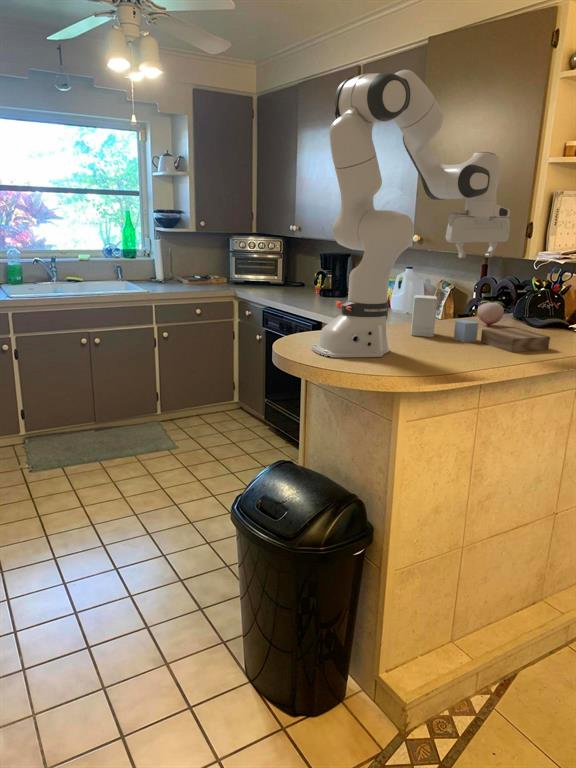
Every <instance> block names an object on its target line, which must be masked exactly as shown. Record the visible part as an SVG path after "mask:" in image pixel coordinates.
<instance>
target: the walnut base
mask: <svg viewBox="0 0 576 768" xmlns="http://www.w3.org/2000/svg"><path fill="white" fill-rule="evenodd" d="M550 341H551V336H549V335H544V334H542V333H538V332H534V331H532V330H531V331H530V330H526V329H523V328H520V327H511V328H508V327H507V328H487V329H482V330H481V335H480V343H482V344H486V345H489V346H491V347H494V348H497V349H499V350H500V349H501V350H502V351H503V350H504V351H506V352H509V353H517V352H518V353H519V352H520V353H521V352H534V351H548V350H549V347H550V346H549V345H550Z"/></svg>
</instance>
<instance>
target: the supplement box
mask: <svg viewBox="0 0 576 768" xmlns="http://www.w3.org/2000/svg"><path fill="white" fill-rule="evenodd" d="M412 304H413V305H412V314H411V327H410V335H411V336H414V337H427V338H428V337H429V338H433V337H434V334H435V333H434V332H435V326H436V325H435V324H436V315H437V314H436V313H437V307H438V306H437V305H438V297H437V296H436V295H423V294H421V295H419V294H415V295H414V296H413V303H412Z"/></svg>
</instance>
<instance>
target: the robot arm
mask: <svg viewBox="0 0 576 768" xmlns="http://www.w3.org/2000/svg"><path fill="white" fill-rule="evenodd" d="M334 108H335V110H334V117H335V118H336V119H335V120H334V121H333V122H332V123H331V125H330V127H329V132H328V133H329V144H330V154H331V159H332V162H333V167H334V171H335V175H336V178H337V182H338V187H339V192H340V203H341V204H340V211H339V214H338V215H337V217H336V218H335V220H334V222H333V226H332V233H333V238H334V240H335V242H336V243H337V244H338V245H340V246H343V248H347V249H349V250H354V251H364V252H363V256H362V259H361V261H360V263H359V264H358V265H356V267H354V268H353V269H352V270H351V272H350V273H349V276H348V277H349V279H348V295H347V300H346V301H345V302H344V301H343V302H342V301H339V300H337V301H336V302H335V303H334V304H335V307H336V309H339V310H341V313H340V314H338V316H336V317H335V318H334V319H332V320H331V321H330V322H328V323H327V324H325V326H323V327H322V329H321V332H320V334H319V340H318V342H317V343H316V342H315V343H312V344H311V347H310V348H311V350H312V351H313V352H315V354H316V353H317V354H319V355H320V354H321V356H323V355H324V356H323V357H327V356H330V357H329V358H381V357H383V356H384V355H385V354H387V353H389V351H390V350H389V345H388V337H387V320H388V314H389V302H388V294H389V285H390V278H391V277H390V276H391V272H392V270H393V268H394V265H395V262H396V261H397V259H398V258H399V256H400V255H401V254H402V253H403V252H404V251H405V250H406V249H408V248H409V247H410V245H411V243H413V240H414V238H415V237H414V236H415V226H414V222H413V220H412V219H411V217H410V216H409V215H407V214H405V213H402V212H400V211H399V212H398V211H395V210H387V209H386V210H383V209H382V210H381V209H380V210H378V209H375V206H374V198H375V195H376V194H377V193H378V192H379V191H380V189H382V188H381V187H382V185H383V179H382V178H383V177H382V174H381V170H380V165H379V161H378V156H377V151H376V147H375V144H374V140H373V127H374V124H375V123H380V122H388V121H389V122H390V121H392V120H393V121H395V124H396V126H398V128H399V129H400V131H401V132H402V142H403V143H402V144H403V145H404V148H405V150H406V152H407V155H408V156H409V159H410V160H411V161H412V165H413V166H414V168H415V169H416V172H418V174H419V177H420V180H421V183H422V187H423V189H424V192H425V194H426V196H427V197H428V198H429V199H431V200H433V201H441V200H465V205H464V210H454V211H453V212H451V213H450V214H449V216H448V221H447V227H446V231H445V232H446V233H445V240H446V242H447V243H450V244H451V243H453V244H454V243H455V248H456V249H457V252H458V255H457V257H458V258H459V259H465V258H466V257H467V256H466V254H467V251H464V248H463V247H464V245H465V243H488V245H489V247H488V249H487V250H485V251H484V253H485V254H484V258H492V257H493V254H494V253H493V252H494V251H495V249H496V248H497V246H498V243H502V242H503V243H505V242H507V241H508V239H509V237H510V233H511V231H510V229H511V222H510V221H511V220H510V219H509V218H508V217H510V216H511V210H510V209H509V208H507V207H504V206H502V205H499V204H497V202H498V198H497V197H498V196H497V189H498V187H499V184H500V183H499V182H500V173H501V172H500V171H501V170H500V169H501V168H500V167H501V165H500V159H499V158H500V157H499V156H498V155H497V154H496V153H494V152H488V151H477V152H474V153H473V154H472V156H471V157H470V158H469V159H468V160H466V161H463V162H462V163H455V164H445V163H442V162H439V161H438V160H437V158H436V157H435V155H434V153H433V151H432V149H431V146H430V145H429V143H431V142H432V141H433V140H434V139H435V137H436V136H437V135H438V134H439V132H440V130H441V129H442V126H443V122H444V115H443V110H442V108H441V106H440V104H439V103H438V101H437V99H436V98H435V97H434V95H433V94H432V92H431V90H430V89H429V87H428V86H427V85H426V84H425V83H424V82H423V80H421V78H420V77H419V76H417V74H416V73H415V72H414V71H412V70H410V69H401V70H399V71H397V72H395V73H392V72H386V71H384V72H381V73H372V72H369V73H368V72H367V73H364V74H359V75H357V76H356V75H355V76H350V77H349V78H347V79H345V80H344V81H343V82H341V83H340V84H339V85H338V87H337V88H336V92H335V96H334Z"/></svg>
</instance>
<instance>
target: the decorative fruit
mask: <svg viewBox="0 0 576 768" xmlns="http://www.w3.org/2000/svg"><path fill="white" fill-rule="evenodd" d="M493 300H494V298H491V300H482V301H480V302H478V307H477V317H478V318H479V320H480V321H481V322H482V323H484V324H485V325H487V326H491V325H492V326H493V325H494V324H497V323H498V322H500V321H501V319H502V318H503V316H504V314H505V312H504V311H505V310H504V309H505V308H504V307H506V305H505V304H504V303H503V302H501V301H498V300H497V301H496V300H494V301H493ZM503 306H504V307H503Z"/></svg>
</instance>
